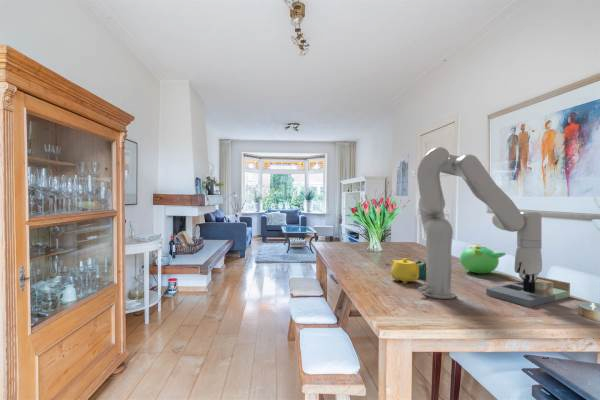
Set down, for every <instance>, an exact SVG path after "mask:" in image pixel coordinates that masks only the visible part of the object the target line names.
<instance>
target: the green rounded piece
mask: <svg viewBox="0 0 600 400" xmlns="http://www.w3.org/2000/svg"><path fill="white" fill-rule="evenodd" d="M504 256H506V252H495V251H494V250H492V249H490V248H488V247H485V246H481V245H480V244H475V245H474V246H471V247H467V248H465V249H464V250H463V251H462V252H461V254H460V257H459V260H460V261H459V262H460V264H461V266H462V267H463V268H464V269H465V270H466V271H469V272H472V273H474V274H489V273H491V272H494V271H495V270H496V269H497V268H498V266H499V263H500V261H499V259H500V258H501V257H502V258H503V257H504Z"/></svg>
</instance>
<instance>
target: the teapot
mask: <svg viewBox="0 0 600 400" xmlns="http://www.w3.org/2000/svg"><path fill="white" fill-rule="evenodd" d="M420 265H421V264H417V265H416V263H415V262H414V261H412V260H408V258H401V259H399V260H397V259H396V260H395V259H392V260H391V270H390V275H391V277H392V278H393V279H394V281H396V282H399V281H401V282H402V284H405V285H406V284H408V282H411V283H416V281H417V280H418V279H419V266H420Z"/></svg>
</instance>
